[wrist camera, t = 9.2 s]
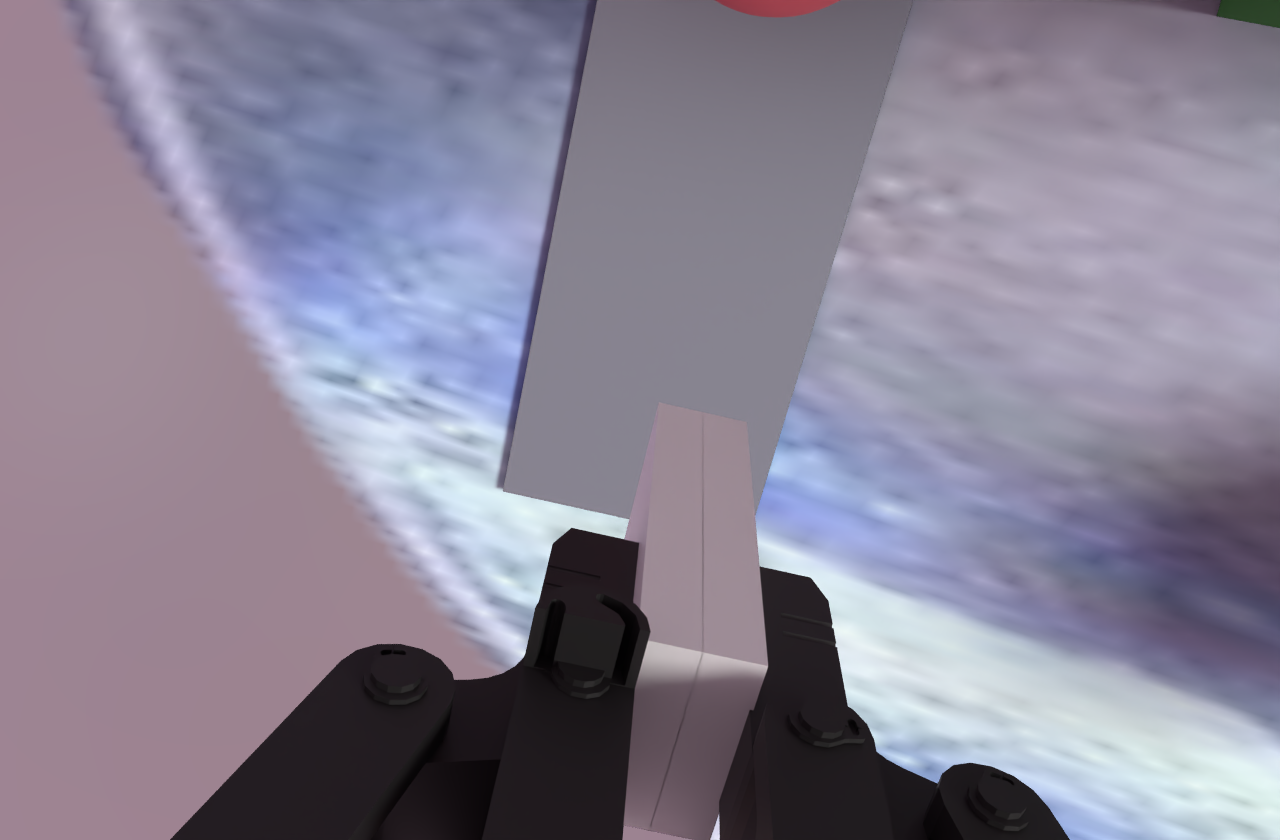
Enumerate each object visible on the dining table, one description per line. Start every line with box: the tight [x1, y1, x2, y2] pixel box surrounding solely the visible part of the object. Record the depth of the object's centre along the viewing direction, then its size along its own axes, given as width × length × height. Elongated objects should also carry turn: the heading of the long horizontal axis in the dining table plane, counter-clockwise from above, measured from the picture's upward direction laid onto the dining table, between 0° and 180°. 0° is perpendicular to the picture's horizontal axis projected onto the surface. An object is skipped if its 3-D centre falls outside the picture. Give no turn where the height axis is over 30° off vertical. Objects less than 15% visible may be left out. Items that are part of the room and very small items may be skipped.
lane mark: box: [503, 0, 913, 519], centre depth 29 cm, size 28×8×1 cm, turn 168°
